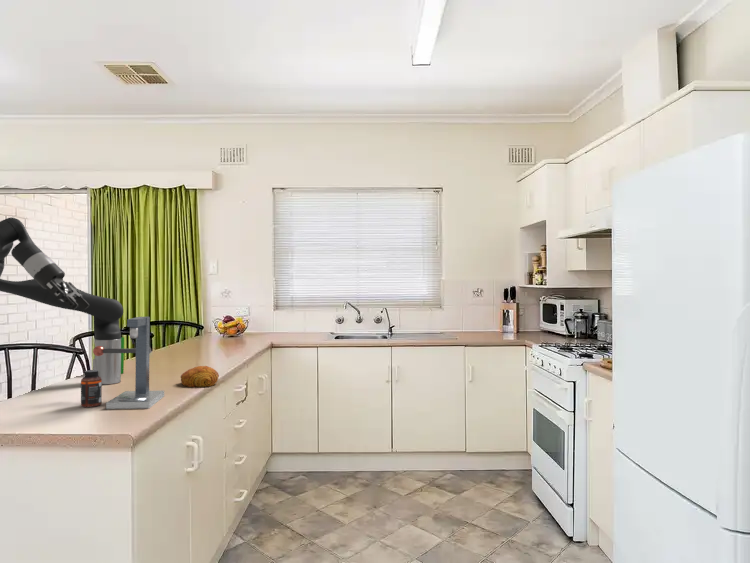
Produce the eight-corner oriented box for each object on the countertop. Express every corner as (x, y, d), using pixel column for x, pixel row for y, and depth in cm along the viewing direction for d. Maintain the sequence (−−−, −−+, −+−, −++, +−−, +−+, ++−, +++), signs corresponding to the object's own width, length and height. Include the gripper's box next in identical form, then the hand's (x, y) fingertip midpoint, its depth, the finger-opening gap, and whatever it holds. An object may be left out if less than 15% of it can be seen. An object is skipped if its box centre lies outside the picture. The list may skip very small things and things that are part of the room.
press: (106, 409, 170) (106, 320, 169) (125, 396, 187) (126, 316, 187) (149, 408, 171) (149, 320, 171) (164, 396, 189) (164, 316, 189)
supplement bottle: (105, 404, 176) (106, 370, 176) (89, 408, 170) (89, 372, 170) (93, 402, 178) (93, 368, 178) (76, 406, 173) (76, 371, 173)
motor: (129, 372, 236) (129, 326, 236) (113, 375, 228) (113, 328, 228) (111, 370, 240) (111, 326, 240) (94, 374, 231) (94, 327, 231)
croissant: (217, 385, 221) (218, 365, 222) (219, 387, 206) (219, 365, 208) (180, 386, 217) (181, 366, 218) (179, 388, 202) (180, 366, 203)
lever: (91, 356, 185) (91, 346, 185) (95, 355, 188) (95, 345, 188) (148, 356, 187) (148, 346, 187) (151, 355, 190) (151, 344, 190)
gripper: (45, 279, 175) (81, 315, 175) (22, 277, 160) (61, 316, 161) (63, 263, 175) (99, 299, 176) (42, 260, 161) (81, 299, 162)
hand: (81, 307), depth 169 cm, fingers open, 8 cm apart
